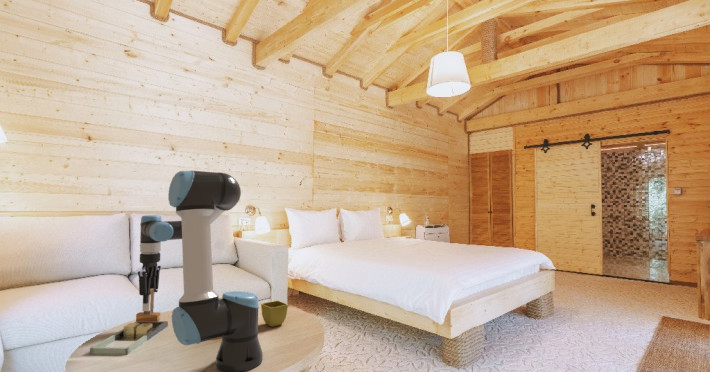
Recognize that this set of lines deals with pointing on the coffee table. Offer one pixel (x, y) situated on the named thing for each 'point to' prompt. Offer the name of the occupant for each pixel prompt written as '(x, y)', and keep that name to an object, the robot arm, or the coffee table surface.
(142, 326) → the light brown cube
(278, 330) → the coffee table surface
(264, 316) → the flower pot
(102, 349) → the tray
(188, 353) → the coffee table surface
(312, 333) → the coffee table surface
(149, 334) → the dark grey shallow tray
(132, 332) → the tan cube
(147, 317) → the bent wooden stick
